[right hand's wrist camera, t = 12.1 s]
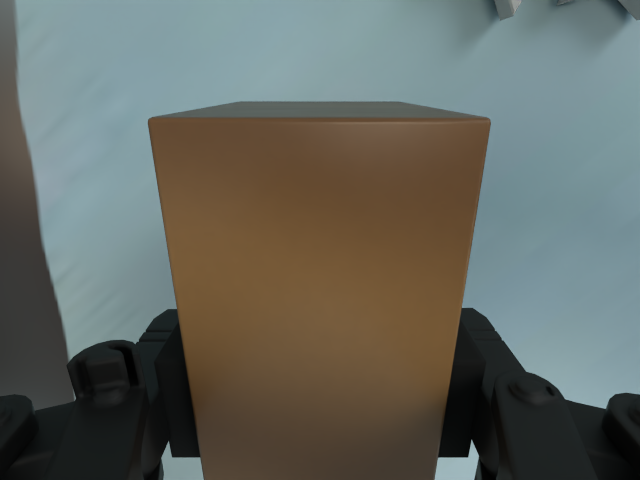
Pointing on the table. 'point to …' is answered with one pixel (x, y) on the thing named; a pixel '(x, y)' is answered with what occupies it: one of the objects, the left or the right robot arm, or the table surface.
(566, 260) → the table surface
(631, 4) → the decorative wreath
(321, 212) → the bar
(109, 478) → the right robot arm
